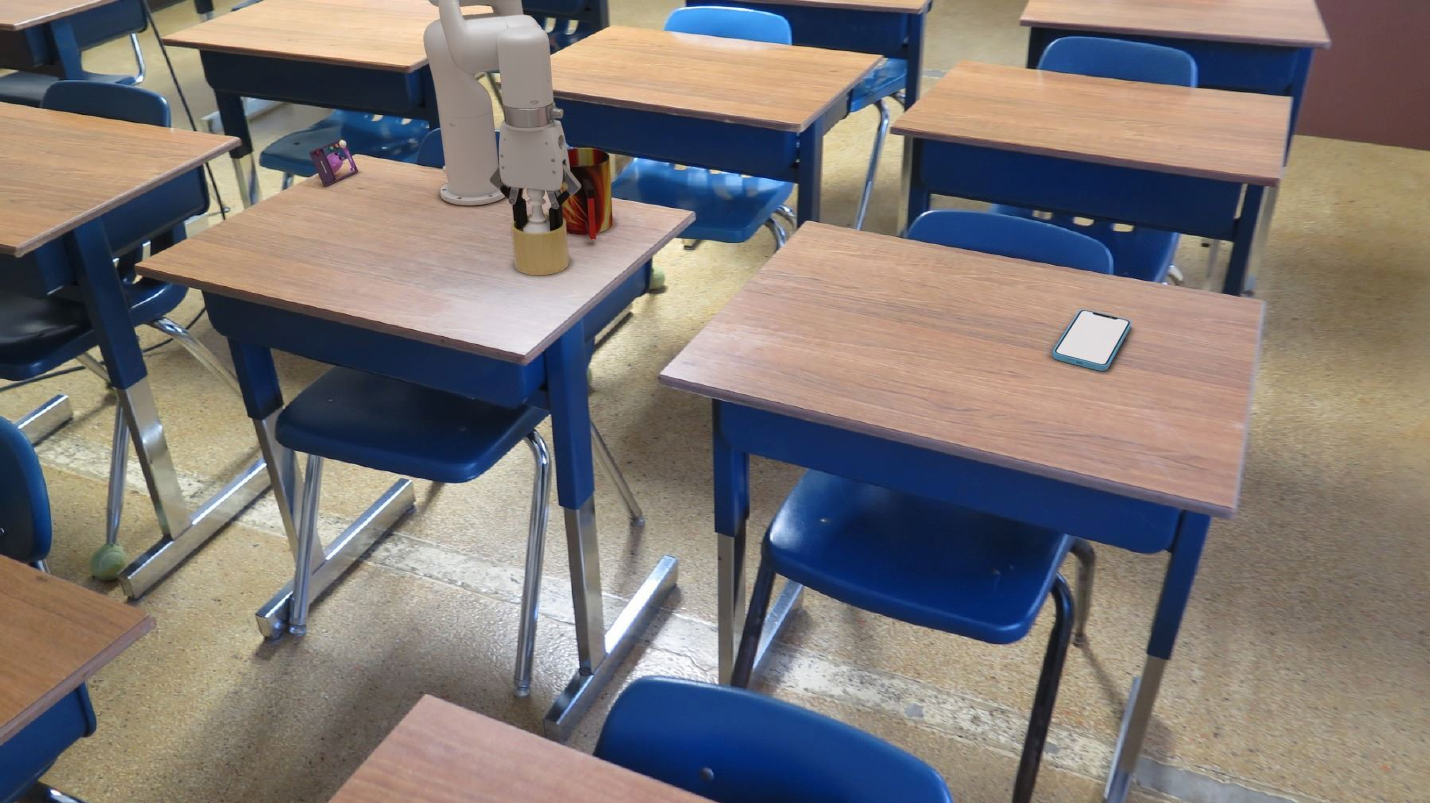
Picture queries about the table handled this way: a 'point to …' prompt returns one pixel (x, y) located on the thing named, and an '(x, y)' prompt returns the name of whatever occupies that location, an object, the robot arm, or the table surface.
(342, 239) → the table surface
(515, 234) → the yellow cup
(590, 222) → the mug
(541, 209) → the chess pawn
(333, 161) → the game card
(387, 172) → the table surface
